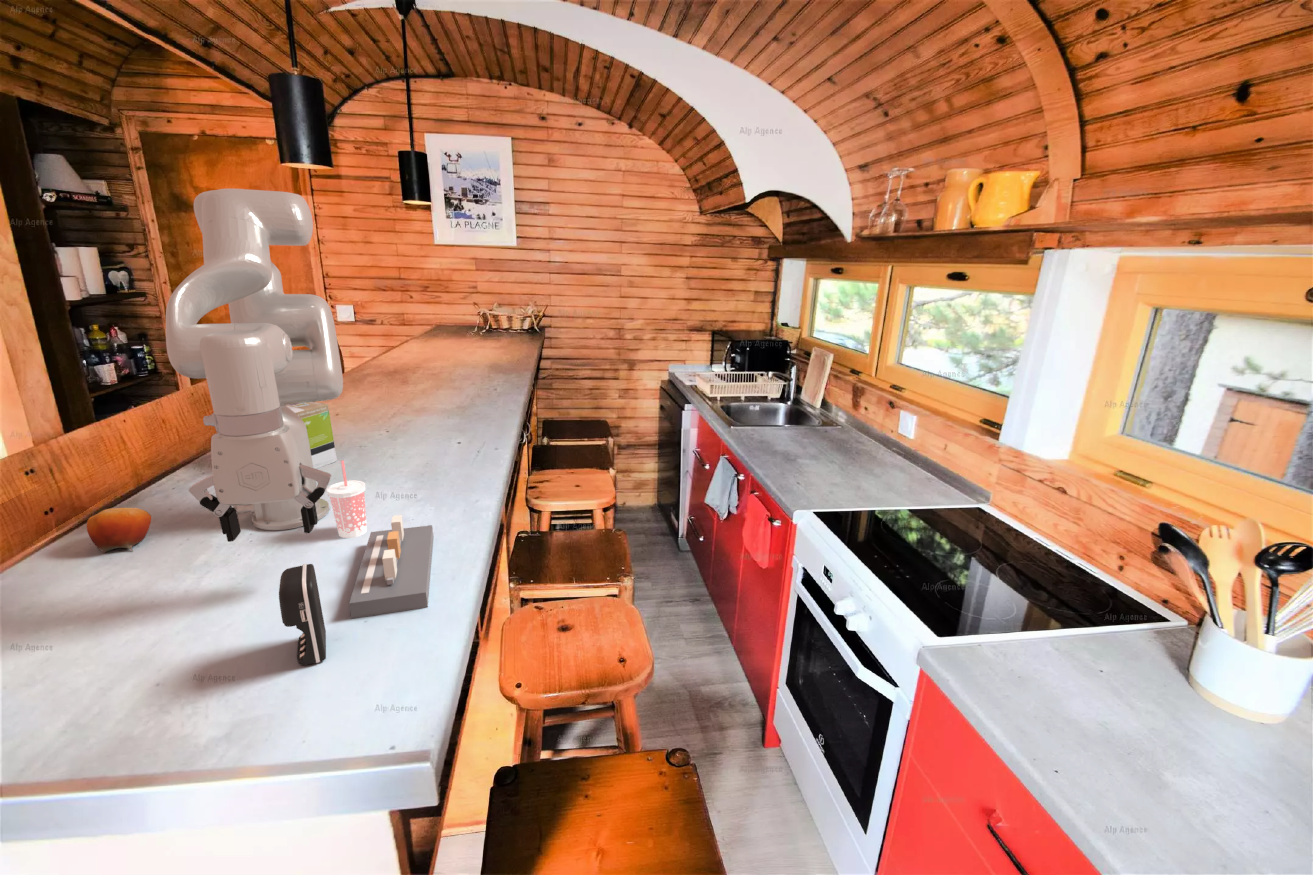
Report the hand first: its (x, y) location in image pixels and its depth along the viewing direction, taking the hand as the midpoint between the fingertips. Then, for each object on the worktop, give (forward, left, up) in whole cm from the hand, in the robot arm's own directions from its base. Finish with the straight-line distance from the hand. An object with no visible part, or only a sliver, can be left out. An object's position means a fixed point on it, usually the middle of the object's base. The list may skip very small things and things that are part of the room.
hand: (273, 533), depth 85 cm
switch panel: (+16, 0, -9) cm, 18 cm away
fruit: (-29, +22, -10) cm, 38 cm away
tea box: (-11, +58, -10) cm, 60 cm away
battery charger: (+7, -17, -10) cm, 21 cm away
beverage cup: (+7, +17, -10) cm, 21 cm away
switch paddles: (+16, 0, -6) cm, 17 cm away
